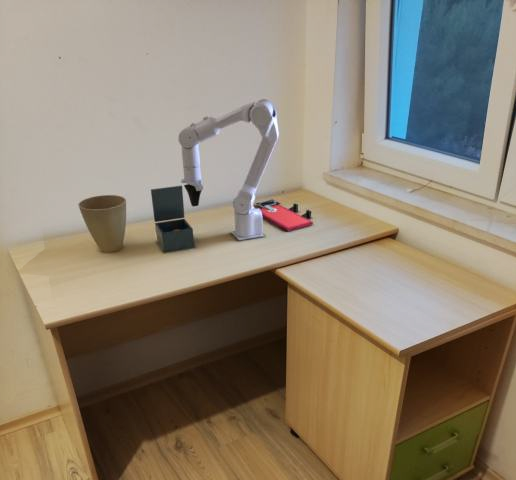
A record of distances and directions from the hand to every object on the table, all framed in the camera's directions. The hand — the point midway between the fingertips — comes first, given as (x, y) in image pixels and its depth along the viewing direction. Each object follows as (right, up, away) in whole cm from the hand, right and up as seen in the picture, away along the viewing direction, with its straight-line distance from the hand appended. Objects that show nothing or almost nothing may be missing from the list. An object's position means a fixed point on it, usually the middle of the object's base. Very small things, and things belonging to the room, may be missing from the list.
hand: (195, 205), depth 176 cm
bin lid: (-8, -1, -7) cm, 11 cm away
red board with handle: (+31, +1, +19) cm, 37 cm away
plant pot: (-28, -16, -5) cm, 33 cm away
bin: (-6, -14, -3) cm, 16 cm away
